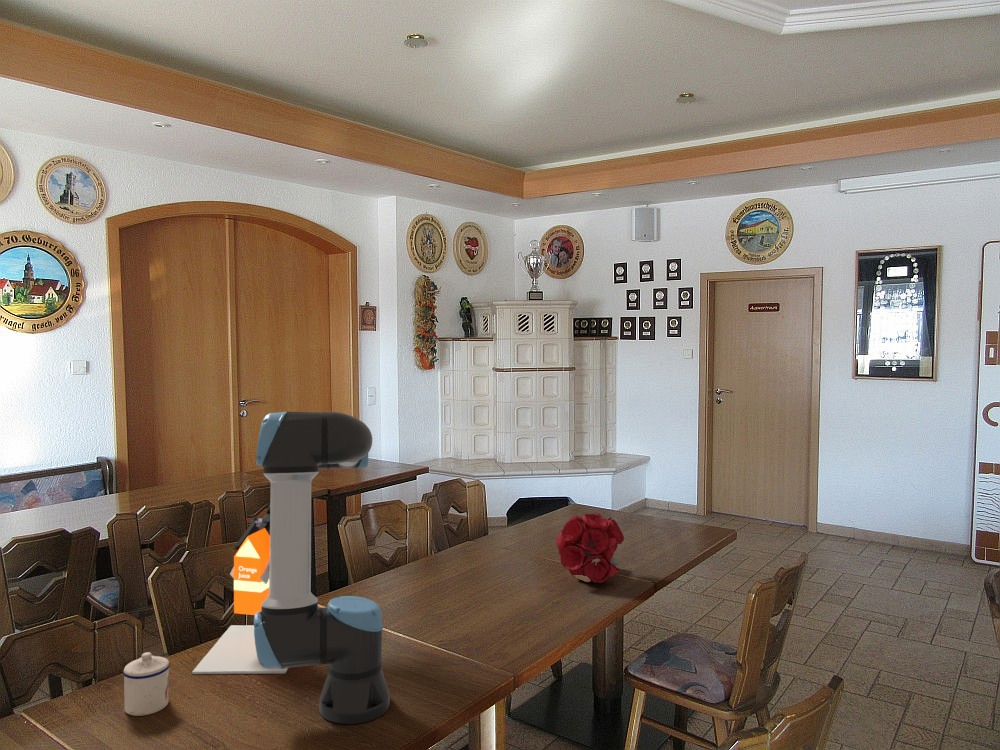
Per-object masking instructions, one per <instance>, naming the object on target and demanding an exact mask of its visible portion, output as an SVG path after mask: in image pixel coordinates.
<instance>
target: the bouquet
mask: <svg viewBox="0 0 1000 750" xmlns="http://www.w3.org/2000/svg"><path fill="white" fill-rule="evenodd" d="M555 540H556V547H557V549H558V554H559V556H560V563H561V565H562V567H563V568H565V570H567V571H569V573H570V575H571V576H572V577H574V576H573V575H583V576H587V577H588V578H589V579H590V580H592V581H591V582H593V583H595V582H600V583H599V584H602V583H604V581H607V580H608V579H609V577H610V578H612V577H613V576H615V575H616V574H619V572H620V569H619V567H616V566H617V565H618V566H619V562H620V561H619V559H618V558H617V556H616V555H615V554H614V553H615V552H616V551H617V549H618V546H619V545H621V544H623V542H624V540H625V537H624V534H623V531H622V530H621V528H620V526H619V525H618V522H617V521H616V520H615V519H613V517H608V519H607V518H605V517H603V516H602V515H601V514H599V513H585V514H584V515H583V516H580V515H578V514H577V515H573V516H572V517H570V519H569V520H568V521H567V522H566V523H565V525H564V526H563V528H562V529H561V531H560V533H559V534H558V535H557V536H556V538H555ZM597 559H598V561H596V560H597ZM594 560H595V561H594Z"/></svg>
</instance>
